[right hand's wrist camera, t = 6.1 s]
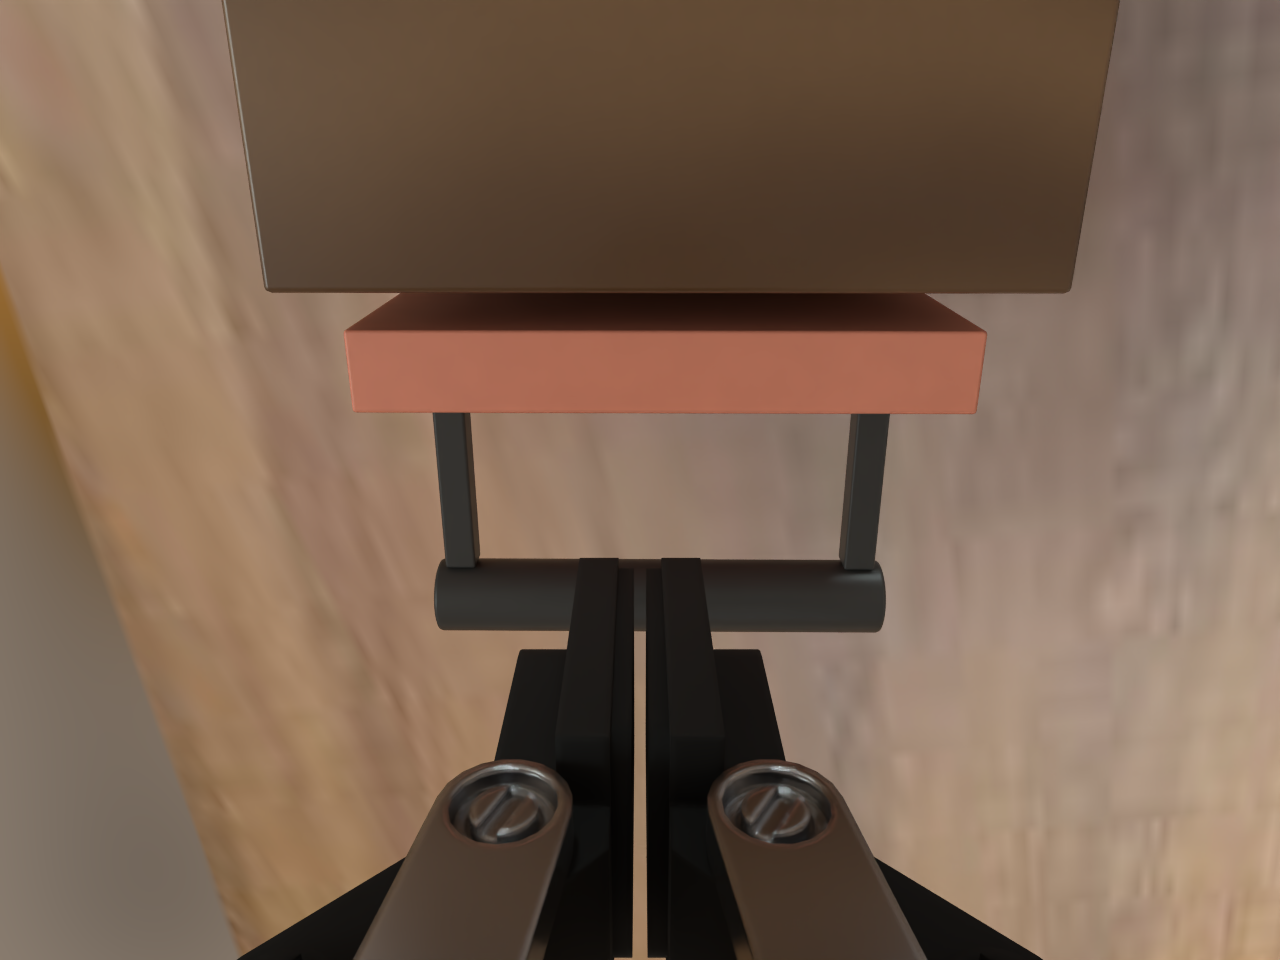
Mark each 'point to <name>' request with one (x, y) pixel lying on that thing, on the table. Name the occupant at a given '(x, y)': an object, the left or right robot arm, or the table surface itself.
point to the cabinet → (669, 143)
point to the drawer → (665, 383)
